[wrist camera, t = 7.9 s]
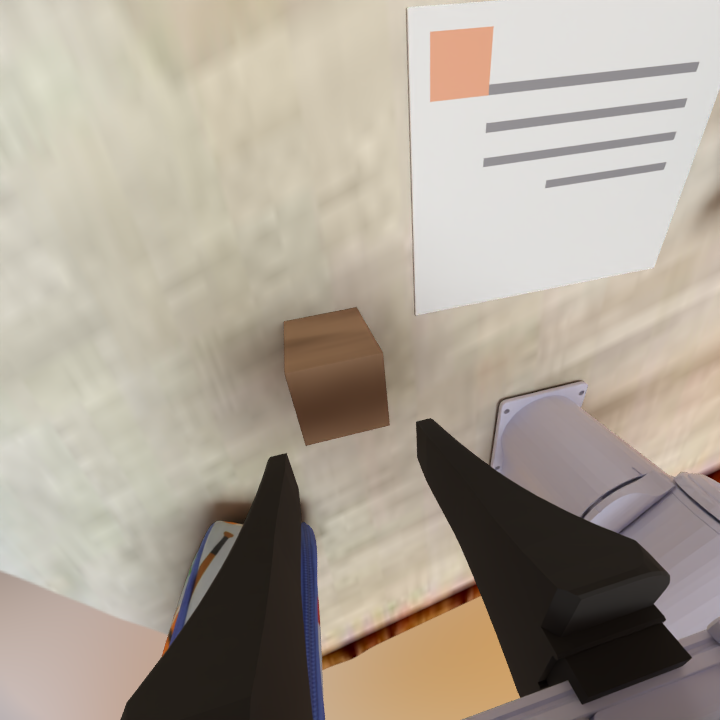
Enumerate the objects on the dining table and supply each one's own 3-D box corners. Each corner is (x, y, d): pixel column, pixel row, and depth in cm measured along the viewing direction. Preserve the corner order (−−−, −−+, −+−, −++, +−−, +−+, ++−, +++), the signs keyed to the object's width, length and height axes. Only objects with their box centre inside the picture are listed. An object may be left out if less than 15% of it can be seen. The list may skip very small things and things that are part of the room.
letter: (652, 267, 23) (653, 267, 23) (415, 314, 20) (415, 315, 20) (756, -18, 15) (759, -20, 15) (406, 8, 13) (407, 7, 13)
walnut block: (364, 367, 22) (389, 425, 17) (300, 382, 21) (305, 445, 16) (356, 307, 19) (382, 352, 14) (283, 321, 19) (284, 373, 14)
